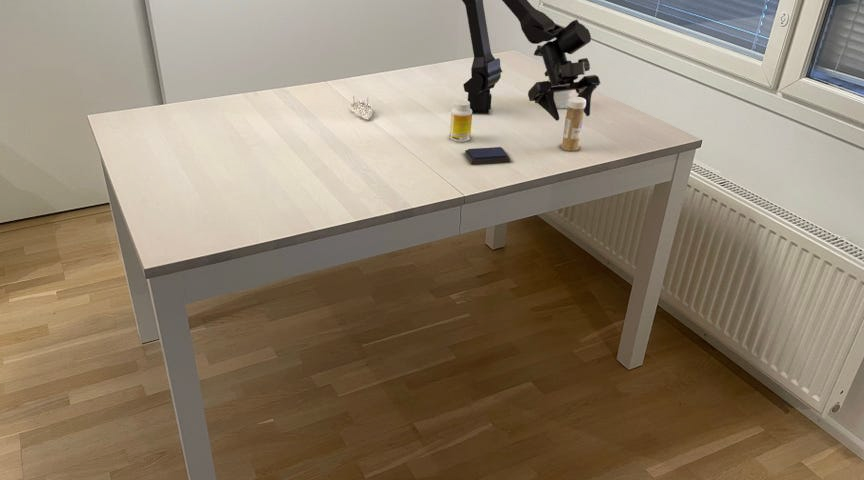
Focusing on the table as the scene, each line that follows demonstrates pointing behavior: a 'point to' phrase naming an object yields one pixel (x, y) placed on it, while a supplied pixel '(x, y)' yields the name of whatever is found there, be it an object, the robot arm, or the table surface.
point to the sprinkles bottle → (573, 123)
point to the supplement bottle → (461, 121)
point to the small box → (561, 98)
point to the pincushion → (361, 109)
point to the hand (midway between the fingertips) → (573, 117)
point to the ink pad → (487, 155)
